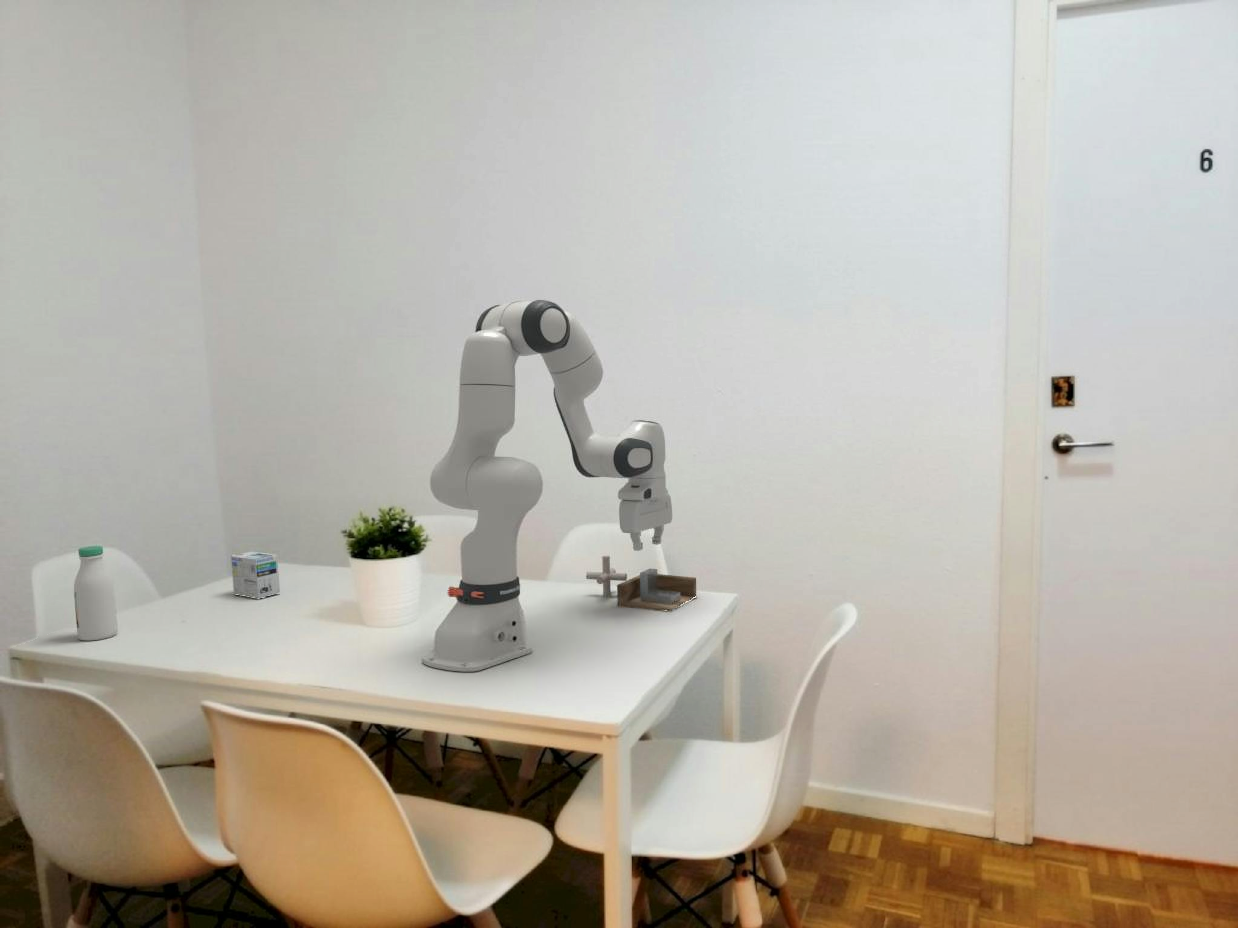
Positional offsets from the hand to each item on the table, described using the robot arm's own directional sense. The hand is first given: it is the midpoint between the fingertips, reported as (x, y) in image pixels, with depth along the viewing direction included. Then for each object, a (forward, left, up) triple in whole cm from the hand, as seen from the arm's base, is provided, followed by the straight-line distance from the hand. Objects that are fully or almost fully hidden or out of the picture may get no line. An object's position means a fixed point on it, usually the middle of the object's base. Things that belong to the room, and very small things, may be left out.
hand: (647, 547), depth 214 cm
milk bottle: (-74, +98, -14) cm, 124 cm away
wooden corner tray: (+2, -2, -13) cm, 14 cm away
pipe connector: (+2, +12, -14) cm, 19 cm away
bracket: (0, -3, -13) cm, 13 cm away
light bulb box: (-33, +97, -14) cm, 104 cm away
